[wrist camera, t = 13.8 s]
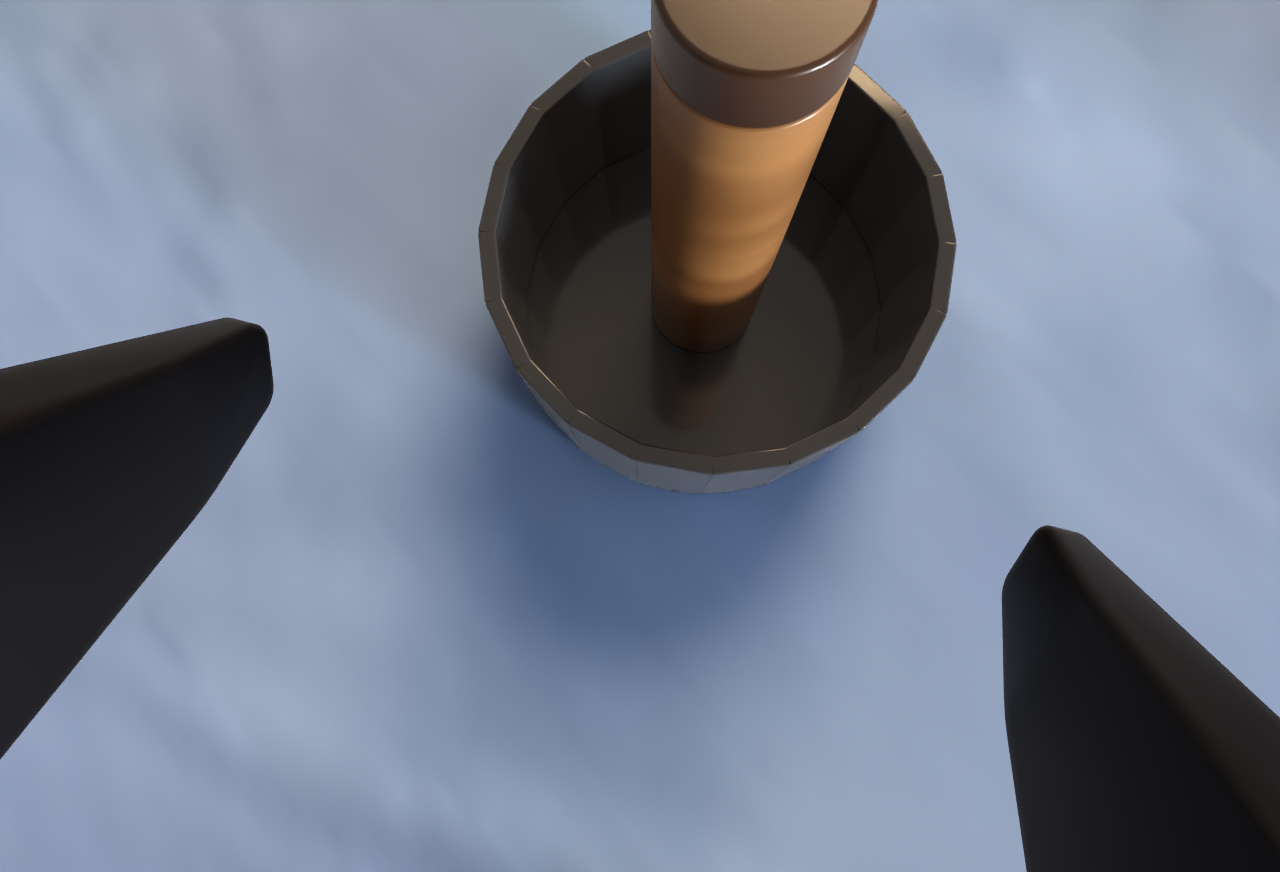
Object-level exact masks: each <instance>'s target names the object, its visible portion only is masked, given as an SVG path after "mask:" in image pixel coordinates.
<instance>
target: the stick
mask: <svg viewBox="0 0 1280 872" xmlns="http://www.w3.org/2000/svg"><path fill="white" fill-rule="evenodd" d="M877 2H878V0H651V309H652V314H653V318H654V321H655V323H656V325H657V327H658V328H659V330H660V331H661V333H662V334H663V335H664V336H665V337H666V338H667V339H668V340H669V341H670V342H672V343H673V344H675V345H676V346H678V347H680V348H683V349H685V350H688V351H693V352H712V351H717V350H720V349H723V348H725V347H727V346H729V345H730V344H732V343H733V342H735V341H736V340H737V339H738V338H739V337H740V336H741V335H742V334H743V333H744V331H745V330H746V328H747V326H748V325H749V323H750V320H751V318H752V315H753V313H754V310H755V308H756V305H757V303H758V300H759V298H760V295H761V293H762V290H763V288H764V285H765V283H766V280H767V278H768V276H769V273H770V271H771V268H772V266H773V263H774V261H775V258H776V256H777V253H778V251H779V248H780V246H781V243H782V241H783V238H784V236H785V233H786V231H787V228H788V226H789V224H790V221H791V219H792V216H793V214H794V211H795V209H796V206H797V204H798V201H799V199H800V196H801V194H802V191H803V189H804V186H805V184H806V181H807V179H808V176H809V174H810V171H811V169H812V167H813V164H814V162H815V159H816V157H817V154H818V152H819V149H820V147H821V144H822V142H823V139H824V137H825V134H826V132H827V129H828V127H829V124H830V122H831V119H832V117H833V115H834V112H835V110H836V107H837V105H838V102H839V100H840V97H841V95H842V92H843V90H844V87H845V85H846V82H847V80H848V77H849V75H850V72H851V70H852V67H853V65H854V62H855V60H856V58H857V55H858V53H859V50H860V48H861V45H862V43H863V40H864V38H865V35H866V33H867V30H868V28H869V25H870V23H871V20H872V18H873V15H874V12H875V9H876V7H877Z"/></svg>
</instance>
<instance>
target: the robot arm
mask: <svg viewBox="0 0 1280 872" xmlns="http://www.w3.org/2000/svg"><path fill="white" fill-rule="evenodd" d="M272 395H273V376H272V368H271V359H270V351H269V342H268V337H267V334H266V332H265V330H264V329H263V328H262V327H261V326H259V325H257V324H253V323H249V322H245V321H241V320H237V319H233V318H221V319H217V320H213V321H208V322H204V323H200V324H195V325H191V326H187V327H182V328H178V329H173V330H169V331H165V332H160V333H156V334H152V335H147V336H143V337H139V338H134V339H130V340H125V341H121V342H117V343H112V344H108V345H104V346H99V347H95V348H91V349H86V350H82V351H77V352H73V353H69V354H64V355H60V356H56V357H51V358H47V359H43V360H38V361H34V362H30V363H25V364H21V365H16V366H12V367H8V368H3V369H0V759H1V758H2V757H3V755H4V754H5V753H6V752H7V750H8V749H9V748H10V747H11V745H12V744H13V743H14V742H15V741H16V739H17V738H18V737H19V736H20V734H21V733H22V732H23V731H24V729H25V728H26V727H27V726H28V724H29V723H30V722H31V721H32V719H33V718H34V717H35V716H36V715H37V713H38V712H39V711H40V710H41V708H42V707H43V706H44V705H45V703H46V702H47V701H48V700H49V698H50V697H51V696H52V695H53V693H54V692H55V691H56V690H57V688H58V687H59V686H60V685H61V684H62V682H63V681H64V680H65V679H66V677H67V676H68V675H69V674H70V672H71V671H72V670H73V669H74V667H75V666H76V665H77V664H78V662H79V661H80V660H81V659H82V658H83V656H84V655H85V654H86V653H87V651H88V650H89V649H90V648H91V646H92V645H93V644H94V643H95V641H96V640H97V639H98V638H99V636H100V635H101V634H102V633H103V631H104V630H105V629H106V628H107V627H108V625H109V624H110V623H111V622H112V620H113V619H114V618H115V617H116V615H117V614H118V613H119V612H120V610H121V609H122V608H123V607H124V605H125V604H126V603H127V602H128V601H129V599H130V598H131V597H132V596H133V594H134V593H135V592H136V591H137V589H138V588H139V587H140V586H141V584H142V583H143V582H144V581H145V579H146V578H147V577H148V576H149V574H150V573H151V572H152V571H153V570H154V568H155V567H156V566H157V565H158V563H159V562H160V561H161V560H162V558H163V557H164V556H165V555H166V553H167V552H168V551H169V550H170V548H171V547H172V546H173V545H174V544H175V542H176V541H177V540H178V539H179V537H180V536H181V535H182V534H183V532H184V531H185V530H186V529H187V527H188V526H189V525H190V524H191V522H192V521H193V520H194V519H195V517H196V516H197V515H198V513H199V512H200V511H201V509H202V508H203V507H204V505H205V504H206V503H207V501H208V500H209V498H210V497H211V496H212V494H213V493H214V491H215V490H216V488H217V487H218V485H219V484H220V482H221V480H222V479H223V477H224V476H225V474H226V472H227V471H228V469H229V468H230V466H231V465H232V463H233V461H234V460H235V458H236V457H237V455H238V454H239V452H240V450H241V449H242V447H243V446H244V444H245V442H246V441H247V439H248V438H249V436H250V435H251V433H252V431H253V430H254V428H255V427H256V425H257V423H258V422H259V420H260V419H261V417H262V416H263V414H264V412H265V411H266V409H267V408H268V406H269V404H270V401H271V399H272ZM1002 628H1003V676H1004V707H1005V721H1006V730H1007V738H1008V745H1009V752H1010V759H1011V766H1012V773H1013V780H1014V787H1015V794H1016V801H1017V807H1018V814H1019V821H1020V828H1021V835H1022V842H1023V849H1024V856H1025V863H1026V870H1027V872H1280V718H1279V717H1278V716H1277V715H1276V714H1275V713H1274V712H1273V711H1272V710H1271V709H1270V708H1269V707H1268V706H1267V705H1265V704H1264V703H1263V702H1262V701H1261V700H1260V699H1259V698H1258V697H1257V696H1256V695H1255V694H1254V693H1253V692H1251V691H1250V690H1249V689H1248V688H1247V687H1246V686H1245V685H1244V684H1243V683H1242V682H1241V681H1240V680H1239V679H1237V678H1236V677H1235V676H1234V675H1233V674H1232V673H1231V672H1230V671H1229V670H1228V669H1227V668H1226V667H1225V666H1223V665H1222V664H1221V663H1220V662H1219V661H1218V660H1217V659H1216V658H1215V657H1214V656H1213V655H1212V654H1211V653H1209V652H1208V651H1207V650H1206V649H1205V648H1204V647H1203V646H1202V645H1201V644H1200V643H1199V642H1198V641H1197V640H1196V639H1194V638H1193V637H1192V636H1191V635H1190V634H1189V633H1188V632H1187V631H1186V630H1185V629H1184V628H1183V627H1182V626H1180V625H1179V624H1178V623H1177V622H1176V621H1175V620H1174V619H1173V618H1172V617H1171V616H1170V615H1169V614H1168V613H1166V612H1165V611H1164V610H1163V609H1162V608H1161V607H1160V606H1159V605H1158V604H1157V603H1156V602H1155V601H1154V600H1153V599H1151V598H1150V597H1149V596H1148V595H1147V594H1146V593H1145V592H1144V591H1143V590H1142V589H1141V588H1140V587H1139V586H1137V585H1136V584H1135V583H1134V582H1133V581H1132V580H1131V579H1130V578H1129V577H1128V576H1127V575H1126V574H1125V573H1124V572H1122V571H1121V570H1120V569H1119V568H1118V567H1117V566H1116V565H1115V564H1114V563H1113V562H1112V561H1111V560H1110V559H1108V558H1107V557H1106V556H1105V555H1104V554H1103V553H1102V552H1101V551H1100V550H1099V549H1098V548H1097V547H1096V546H1094V545H1093V544H1092V543H1091V542H1090V541H1089V540H1088V539H1087V538H1086V537H1085V536H1083V535H1082V534H1079V533H1077V532H1073V531H1069V530H1065V529H1061V528H1057V527H1053V526H1048V525H1047V526H1043V527H1040V528H1039V529H1038V530H1036V531H1035V533H1034V534H1033V535H1032V537H1031V538H1030V540H1029V541H1028V543H1027V545H1026V546H1025V548H1024V549H1023V551H1022V552H1021V554H1020V556H1019V557H1018V559H1017V560H1016V562H1015V563H1014V565H1013V567H1012V568H1011V570H1010V571H1009V573H1008V575H1007V577H1006V579H1005V582H1004V585H1003V590H1002Z"/></svg>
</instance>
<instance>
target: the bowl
mask: <svg viewBox="0 0 1280 872" xmlns="http://www.w3.org/2000/svg"><path fill="white" fill-rule="evenodd" d="M478 231H479V233H478V238H479V248H480V258H481V268H482V278H483V288H484V298H485V302H486V306H487V309H488V311H489V313H490V315H491V317H492V320H493V322H494V324H495V326H496V328H497V330H498V333H499V335H500V337H501V339H502V341H503V343H504V346H505V348H506V350H507V352H508V354H509V357H510V359H511V361H512V363H513V365H514V367H515V369H516V370H517V372H518V373H519V375H520V376H521V378H522V379H523V381H524V382H525V384H526V385H527V387H528V388H529V389H530V391H531V392H532V394H533V395H534V397H535V398H536V400H537V401H538V403H539V404H540V405H541V407H542V408H543V410H544V411H545V412H546V413H547V414H548V415H549V416H550V417H551V418H552V420H553V421H554V422H555V423H556V424H557V425H558V426H559V427H560V428H561V429H562V431H563V432H564V433H565V434H566V435H567V436H568V437H569V438H570V439H571V440H572V441H573V442H574V443H575V444H576V445H577V446H578V447H579V448H580V449H581V450H582V451H583V452H585V454H587V455H588V456H590V457H592V458H594V459H596V460H597V461H598V462H600V463H601V464H603V465H604V466H606V467H608V468H610V469H612V470H614V471H616V472H617V473H619V474H621V475H623V476H625V477H627V478H630V479H632V480H634V481H636V482H639V483H642V484H646V485H649V486H653V487H658V488H662V489H667V490H671V491H678V492H689V493H696V494H699V493H700V494H706V493H724V492H730V491H736V490H742V489H748V488H752V487H760V486H761V485H762V486H763V485H765V484H767V483H770V482H772V481H774V480H776V479H778V478H780V477H782V476H785V475H787V474H789V473H791V472H793V471H795V470H797V469H799V468H801V467H803V466H805V465H807V464H809V463H811V462H814V461H816V460H817V459H819V458H820V457H822V456H823V455H825V454H827V453H828V452H830V451H831V450H833V449H834V448H836V447H837V446H839V445H841V444H842V443H844V442H845V441H847V440H848V439H850V438H851V437H853V436H855V435H856V434H858V433H859V432H860V431H862V430H863V429H864V428H865V427H866V426H867V425H868V424H869V423H870V422H871V421H872V420H873V419H874V418H875V417H876V416H877V415H878V414H879V413H880V412H881V411H883V410H884V409H885V408H886V407H887V406H888V405H889V404H890V403H891V402H892V401H893V400H894V399H895V398H896V397H897V396H898V395H899V394H900V393H901V392H902V391H903V390H904V389H905V388H906V387H907V386H908V385H909V384H910V383H911V382H912V381H913V379H914V378H915V377H916V375H917V373H918V371H919V369H920V367H921V365H922V363H923V361H924V359H925V357H926V355H927V353H928V351H929V349H930V347H931V345H932V343H933V341H934V340H935V338H936V336H937V334H938V332H939V330H940V328H941V326H942V324H943V322H944V320H945V318H946V314H947V312H948V304H949V297H950V290H951V282H952V275H953V267H954V260H955V252H956V237H955V232H954V227H953V222H952V217H951V212H950V208H949V203H948V198H947V193H946V188H945V183H944V178H943V174H942V171H941V170H940V168H939V166H938V164H937V163H936V161H935V159H934V157H933V156H932V154H931V152H930V150H929V149H928V147H927V145H926V143H925V142H924V140H923V138H922V136H921V135H920V133H919V131H918V129H917V128H916V126H915V124H914V123H913V121H912V119H911V117H910V116H909V114H908V113H906V110H905V109H904V108H903V107H902V106H901V105H900V104H898V103H897V102H896V101H895V100H894V99H893V98H892V97H891V96H890V95H889V94H887V93H886V92H885V91H884V90H883V89H882V88H881V87H880V86H879V85H878V84H877V83H875V82H874V81H873V80H872V79H871V78H870V77H869V76H868V75H867V74H866V73H865V72H863V71H862V70H861V69H860V68H859V67H858V66H857V65H853V67H852V70H851V72H850V75H849V77H848V80H847V82H846V85H845V87H844V90H843V92H842V95H841V97H840V100H839V102H838V105H837V107H836V110H835V112H834V115H833V117H832V119H831V122H830V124H829V127H828V129H827V132H826V134H825V137H824V139H823V142H822V144H821V147H820V149H819V152H818V154H817V157H816V159H815V162H814V164H813V167H812V169H811V171H810V174H809V176H808V179H807V181H806V184H805V186H804V189H803V191H802V194H801V196H800V199H799V201H798V204H797V206H796V209H795V211H794V214H793V216H792V219H791V221H790V224H789V226H788V228H787V231H786V233H785V236H784V238H783V241H782V243H781V246H780V248H779V251H778V253H777V256H776V258H775V261H774V263H773V266H772V268H771V271H770V273H769V276H768V278H767V280H766V283H765V285H764V288H763V290H762V293H761V295H760V298H759V300H758V303H757V305H756V308H755V310H754V313H753V315H752V318H751V320H750V323H749V325H748V326H747V328H746V330H745V331H744V333H743V334H742V335H741V336H740V337H739V338H738V339H737V340H736V341H735V342H733V343H732V344H730V345H729V346H727V347H725V348H723V349H720V350H717V351H712V352H693V351H688V350H685V349H683V348H680V347H678V346H676V345H675V344H673V343H672V342H670V341H669V340H668V339H667V338H666V337H665V336H664V335H663V334H662V333H661V331H660V330H659V328H658V327H657V325H656V323H655V321H654V318H653V314H652V309H651V30H649V31H645V32H643V33H641V34H638V35H636V36H634V37H632V38H629V39H627V40H625V41H622V42H620V43H618V44H616V45H613V46H611V47H609V48H606V49H604V50H602V51H600V52H597V53H595V54H593V55H590V56H588V57H586V58H585V60H584V59H583V60H581V61H580V62H579V63H578V64H577V65H576V66H574V67H573V68H572V69H571V70H570V71H569V72H567V73H566V74H565V75H564V76H563V77H562V78H560V79H559V80H558V81H557V82H556V83H555V84H553V85H552V86H551V87H550V88H549V89H548V90H546V91H545V92H544V93H543V94H542V95H541V96H540V97H538V98H537V99H536V100H535V101H534V102H533V103H532V104H531V105H530V106H529V108H528V109H527V111H526V113H525V114H524V116H523V117H522V119H521V121H520V122H519V124H518V126H517V127H516V129H515V130H514V132H513V134H512V135H511V137H510V139H509V140H508V142H507V143H506V145H505V147H504V148H503V150H502V152H501V153H500V155H499V157H498V158H497V160H496V161H495V164H494V166H493V170H492V174H491V178H490V183H489V187H488V191H487V196H486V200H485V204H484V208H483V213H482V217H481V221H480V226H479V230H478Z"/></svg>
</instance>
